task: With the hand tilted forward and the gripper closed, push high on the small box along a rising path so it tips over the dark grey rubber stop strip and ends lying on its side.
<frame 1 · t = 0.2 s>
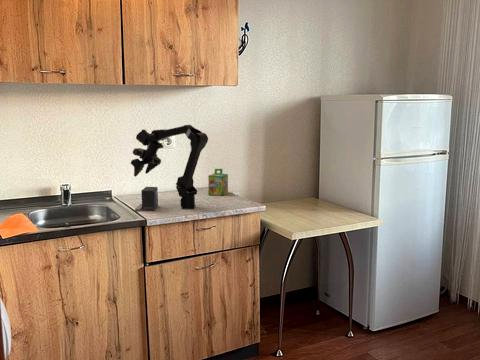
hand: (140, 174, 249), 15 cm above the worktop, tool tilted 30°, fingers open, 9 cm apart
stop strip: (140, 208, 235), on the worktop
small box: (150, 209, 235), on the worktop
chalk box: (218, 194, 270), on the worktop
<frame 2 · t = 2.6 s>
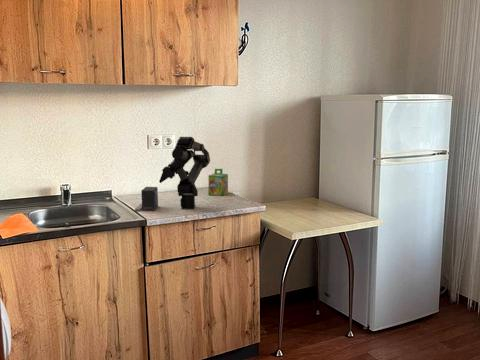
hand: (159, 182, 233), 13 cm above the worktop, tool tilted 45°, fingers closed
nothing on the worktop moved.
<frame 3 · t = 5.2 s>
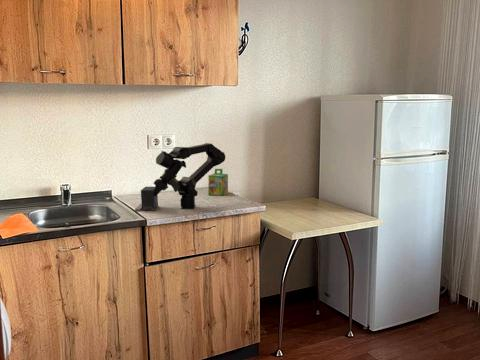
hand: (154, 195, 231), 7 cm above the worktop, tool tilted 35°, fingers closed
small box: (150, 208, 235), on the worktop, touching gripper
everything else where it was.
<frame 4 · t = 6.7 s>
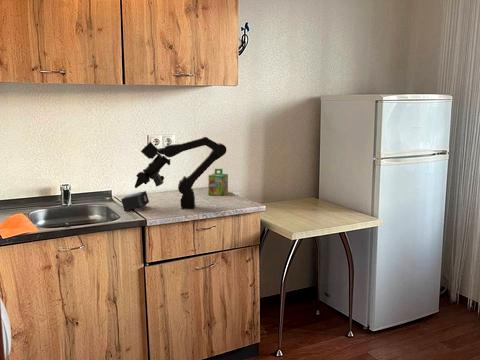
hand: (135, 187, 233), 11 cm above the worktop, tool tilted 45°, fingers closed
small box: (145, 198, 234), point 5 cm above the worktop, touching stop strip
everything else where it was.
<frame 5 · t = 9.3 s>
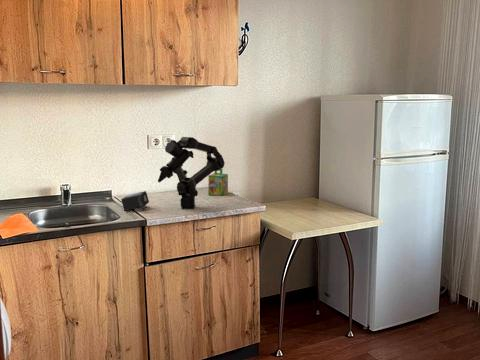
hand: (158, 181, 233), 14 cm above the worktop, tool tilted 45°, fingers closed
nothing on the worktop moved.
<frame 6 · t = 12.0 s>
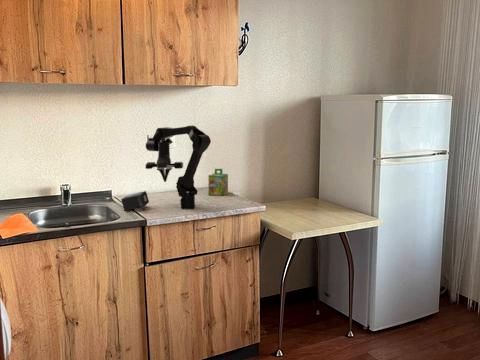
hand: (165, 181, 243), 12 cm above the worktop, tool pointing down, fingers closed
nothing on the worktop moved.
at the end: small box tilted 103°; small box inside the target area (6.3 cm from its centre), point 5.4 cm above the worktop; the gripper is holding nothing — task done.
